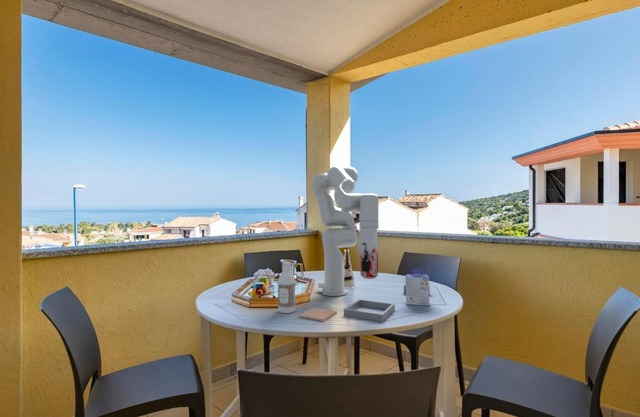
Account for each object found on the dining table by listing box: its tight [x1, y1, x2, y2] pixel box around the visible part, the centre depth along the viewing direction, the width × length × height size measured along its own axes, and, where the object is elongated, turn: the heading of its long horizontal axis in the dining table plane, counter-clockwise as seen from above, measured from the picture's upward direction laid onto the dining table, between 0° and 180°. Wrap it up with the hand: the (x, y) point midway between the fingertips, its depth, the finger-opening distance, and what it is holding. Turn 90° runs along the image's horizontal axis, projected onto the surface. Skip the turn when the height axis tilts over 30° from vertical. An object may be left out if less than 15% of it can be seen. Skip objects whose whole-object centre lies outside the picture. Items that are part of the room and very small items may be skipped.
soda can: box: [359, 248, 379, 280], centre depth 137 cm, size 7×7×12 cm
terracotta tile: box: [298, 307, 338, 322], centre depth 134 cm, size 11×11×1 cm
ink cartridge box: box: [405, 269, 430, 306], centre depth 148 cm, size 10×6×14 cm, turn 78°
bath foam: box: [277, 261, 296, 314], centre depth 140 cm, size 7×7×20 cm
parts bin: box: [343, 299, 396, 323], centre depth 137 cm, size 16×16×2 cm
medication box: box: [403, 284, 431, 297], centre depth 164 cm, size 12×3×4 cm, turn 72°
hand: (369, 269), depth 137 cm, fingers closed on soda can, 7 cm apart
